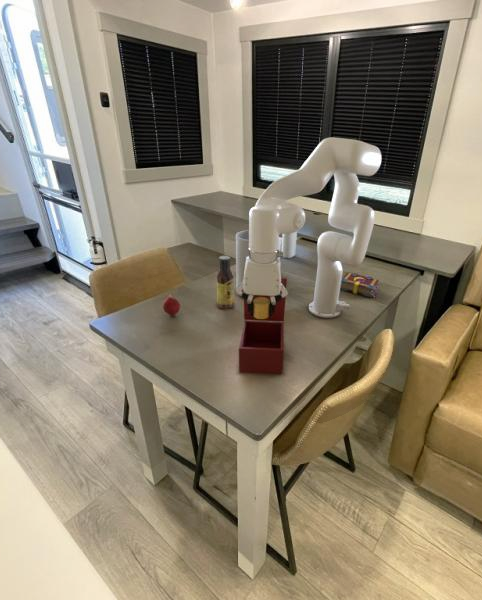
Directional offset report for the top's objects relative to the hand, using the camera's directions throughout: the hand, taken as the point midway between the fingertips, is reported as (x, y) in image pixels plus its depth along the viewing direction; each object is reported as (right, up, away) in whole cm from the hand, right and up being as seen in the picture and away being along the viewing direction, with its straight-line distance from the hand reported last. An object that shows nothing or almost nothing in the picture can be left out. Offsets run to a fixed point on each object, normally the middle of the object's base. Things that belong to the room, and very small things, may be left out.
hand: (261, 313), depth 95 cm
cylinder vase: (-8, +7, +45) cm, 46 cm away
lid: (+1, +4, +5) cm, 7 cm away
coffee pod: (0, 0, 0) cm, 0 cm away
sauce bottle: (-17, +2, +34) cm, 38 cm away
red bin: (0, -14, +8) cm, 16 cm away
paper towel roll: (+8, +27, +83) cm, 88 cm away
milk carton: (-1, +16, +62) cm, 64 cm away
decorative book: (+40, +9, +54) cm, 68 cm away
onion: (-35, -2, +26) cm, 43 cm away
